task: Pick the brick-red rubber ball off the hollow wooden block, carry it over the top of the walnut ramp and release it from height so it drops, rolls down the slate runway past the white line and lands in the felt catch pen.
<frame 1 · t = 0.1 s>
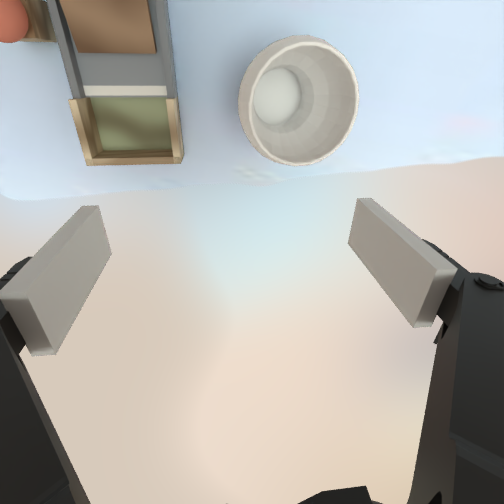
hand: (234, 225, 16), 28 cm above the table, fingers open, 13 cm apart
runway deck: (113, 0, 31), on the table
catch pen: (136, 127, 38), on the table
cup: (273, 96, 38), on the table
hollow wooden block: (34, 22, 32), on the table
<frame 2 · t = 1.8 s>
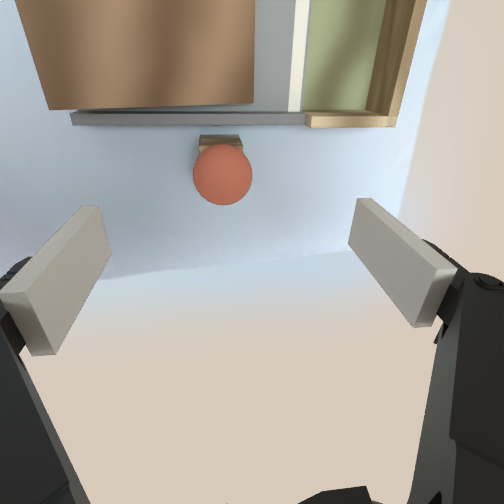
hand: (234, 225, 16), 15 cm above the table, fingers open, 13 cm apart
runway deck: (189, 42, 23), on the table
ball: (222, 175, 22), point 7 cm above the table, touching hollow wooden block
catch pen: (344, 46, 24), on the table
ramp: (160, 40, 22), resting on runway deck
hollow wooden block: (220, 154, 28), on the table
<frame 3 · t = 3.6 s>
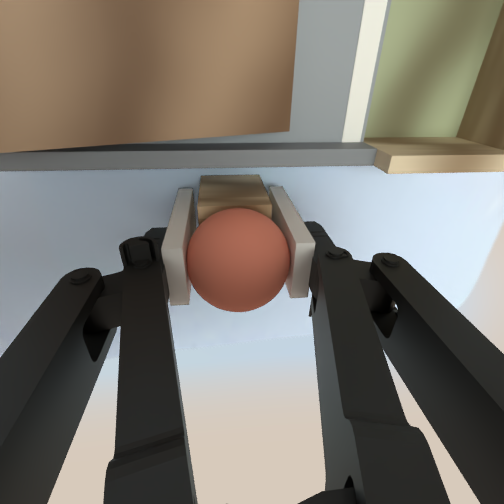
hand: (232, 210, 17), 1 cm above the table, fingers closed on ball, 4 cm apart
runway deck: (183, 29, 14), on the table
ball: (238, 259, 13), point 7 cm above the table, touching gripper, hollow wooden block
catch pen: (436, 37, 15), on the table
ramp: (130, 23, 12), resting on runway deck
hollow wooden block: (231, 202, 18), on the table
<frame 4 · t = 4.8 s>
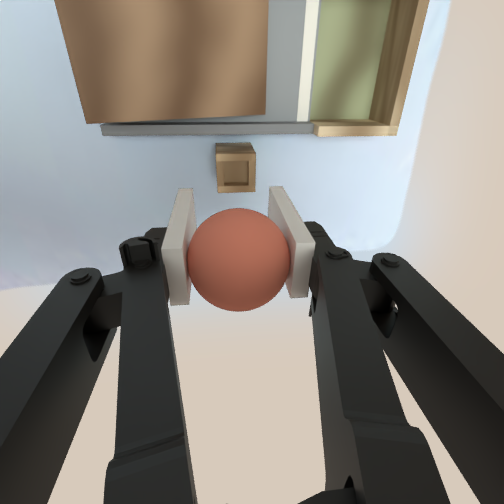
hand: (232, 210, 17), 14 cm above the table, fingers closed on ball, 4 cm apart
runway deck: (207, 59, 25), on the table
ball: (238, 259, 13), point 20 cm above the table, touching gripper
catch pen: (349, 61, 27), on the table
ramp: (182, 59, 24), resting on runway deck
hollow wooden block: (233, 160, 30), on the table
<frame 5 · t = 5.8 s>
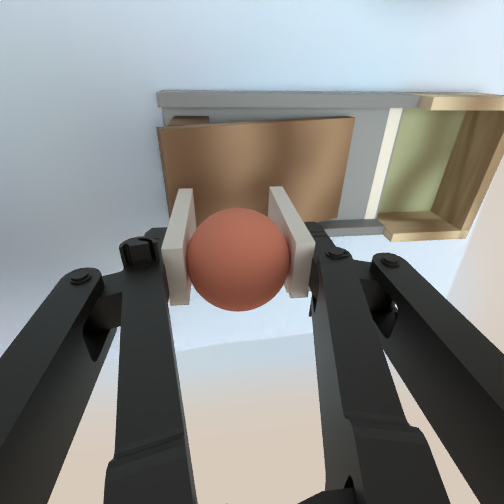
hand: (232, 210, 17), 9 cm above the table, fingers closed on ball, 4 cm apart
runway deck: (280, 164, 25), on the table
ball: (238, 259, 13), point 14 cm above the table, touching gripper
catch pen: (417, 162, 27), on the table
ramp: (259, 170, 24), resting on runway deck
when the fingers open (8 cm above the table, at t = 6.1 s): ball drops 10 cm and tips over, resting on catch pen.
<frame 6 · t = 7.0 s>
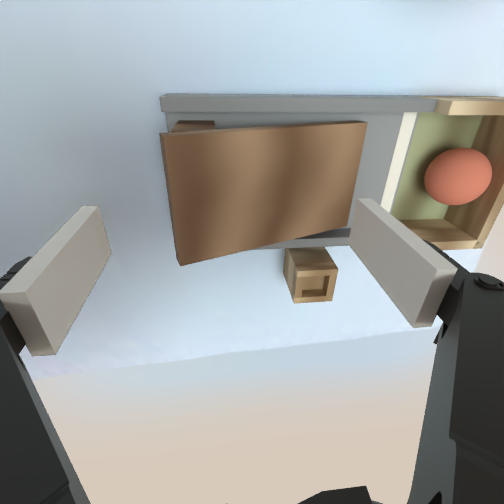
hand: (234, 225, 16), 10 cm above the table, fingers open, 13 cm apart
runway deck: (288, 170, 24), on the table
ball: (456, 177, 23), point 2 cm above the table, tilted 142°, touching catch pen
catch pen: (431, 168, 26), on the table
ramp: (266, 176, 23), resting on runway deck
hollow wooden block: (301, 257, 29), on the table
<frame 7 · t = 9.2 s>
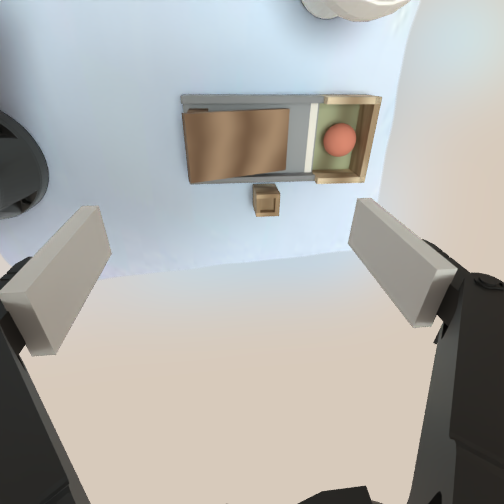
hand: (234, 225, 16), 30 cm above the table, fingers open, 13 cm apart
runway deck: (251, 138, 42), on the table
ball: (339, 140, 41), point 2 cm above the table, tilted 121°, touching catch pen
catch pen: (335, 136, 44), on the table
ramp: (238, 140, 41), resting on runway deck
hollow wooden block: (263, 194, 47), on the table
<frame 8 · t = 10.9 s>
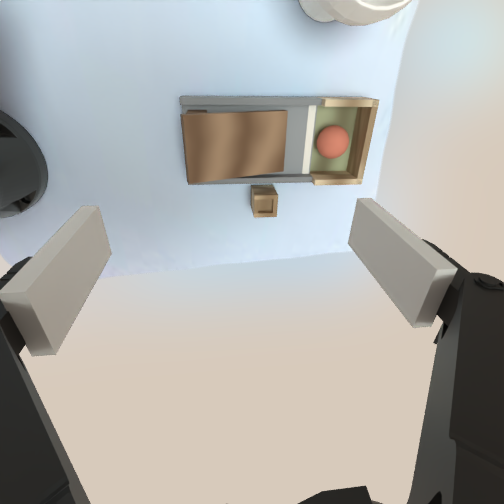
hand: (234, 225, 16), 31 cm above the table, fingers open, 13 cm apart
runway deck: (249, 139, 43), on the table
ball: (332, 142, 42), point 2 cm above the table, tilted 104°, touching catch pen
catch pen: (333, 138, 44), on the table
ramp: (236, 141, 41), resting on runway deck
hollow wooden block: (261, 195, 47), on the table
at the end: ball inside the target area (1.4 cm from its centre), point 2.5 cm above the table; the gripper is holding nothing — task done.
